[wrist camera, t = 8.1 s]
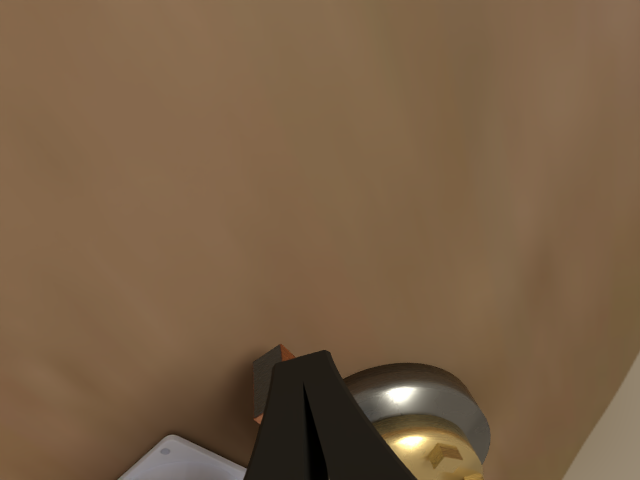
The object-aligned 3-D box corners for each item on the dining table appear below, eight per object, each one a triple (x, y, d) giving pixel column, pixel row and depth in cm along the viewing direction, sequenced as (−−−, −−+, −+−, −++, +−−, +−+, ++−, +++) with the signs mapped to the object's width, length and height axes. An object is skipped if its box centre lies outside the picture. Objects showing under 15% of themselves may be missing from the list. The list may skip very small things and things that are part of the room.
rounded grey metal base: (373, 514, 29) (382, 544, 28) (250, 452, 24) (250, 484, 23) (506, 419, 27) (524, 446, 25) (399, 328, 22) (413, 354, 20)
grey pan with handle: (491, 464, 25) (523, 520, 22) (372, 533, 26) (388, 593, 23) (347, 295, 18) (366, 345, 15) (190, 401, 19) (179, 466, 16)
